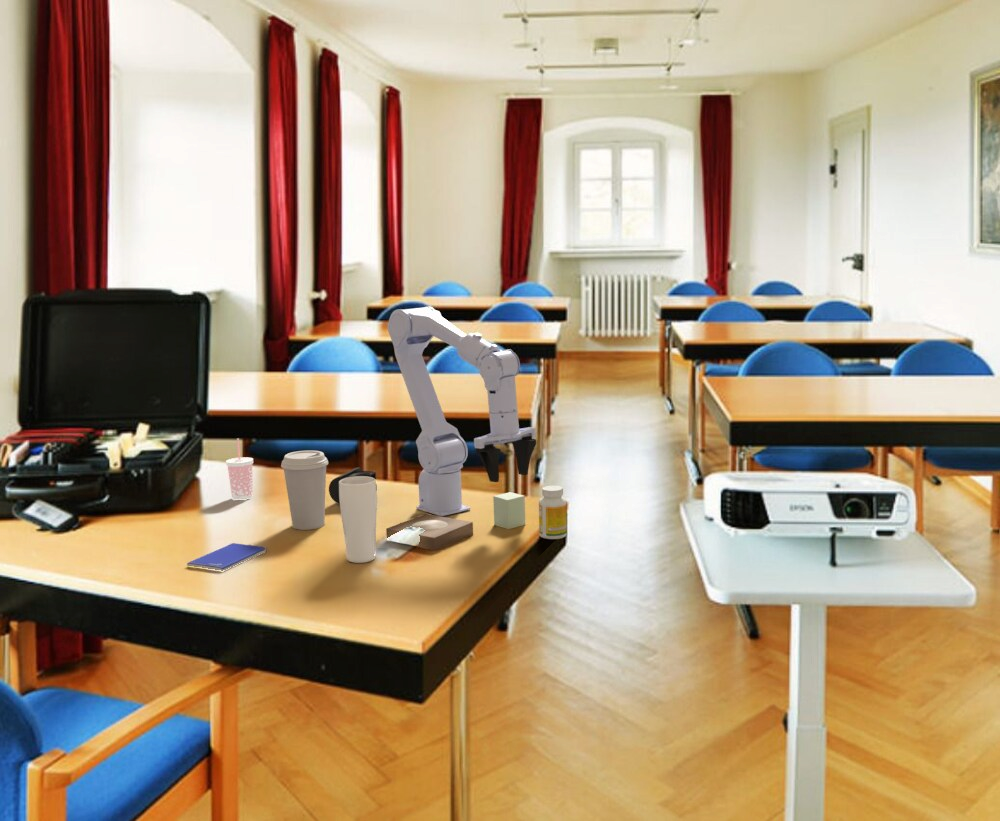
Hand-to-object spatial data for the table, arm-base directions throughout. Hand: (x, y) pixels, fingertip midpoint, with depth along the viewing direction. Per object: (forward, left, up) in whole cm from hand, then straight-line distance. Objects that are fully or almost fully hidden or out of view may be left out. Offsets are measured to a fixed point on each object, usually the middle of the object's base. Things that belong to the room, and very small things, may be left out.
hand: (508, 478), depth 205 cm
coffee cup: (-29, -30, -10) cm, 43 cm away
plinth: (-4, -17, -10) cm, 20 cm away
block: (0, 0, -10) cm, 10 cm away
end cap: (-39, -13, -10) cm, 42 cm away
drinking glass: (-2, -34, -10) cm, 35 cm away
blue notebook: (-20, -52, -11) cm, 57 cm away
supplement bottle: (+12, +1, -10) cm, 15 cm away
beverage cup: (-60, -30, -10) cm, 68 cm away
